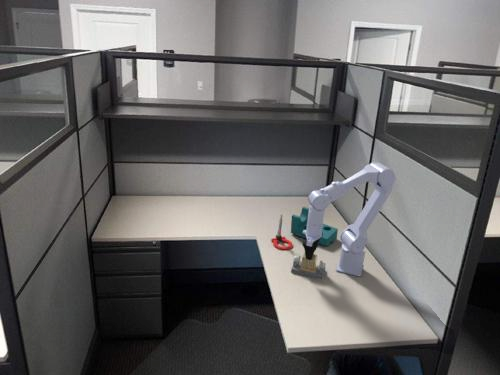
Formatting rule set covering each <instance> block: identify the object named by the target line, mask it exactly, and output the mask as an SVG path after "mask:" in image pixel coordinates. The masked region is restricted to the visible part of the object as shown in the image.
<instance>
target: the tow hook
mask: <svg viewBox="0 0 500 375" xmlns="http://www.w3.org/2000/svg"><path fill="white" fill-rule="evenodd" d="M278 221H279V223H278V230H277V234H275V237H273V238H270V241H271V242H272V246H273V247H275V248H276V249H278V250H281V251H288V250H291V249H292V248H293V246H294V244H293V242H292V241H291V240H289V239H287V238H286V236H282V226H283V214H280V218H279V220H278ZM279 242H283V243H286V244H288V245H287V246H280V245H278V243H279Z"/></svg>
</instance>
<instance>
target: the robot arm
mask: <svg viewBox="0 0 500 375" xmlns="http://www.w3.org/2000/svg"><path fill="white" fill-rule="evenodd" d="M396 180H397V178H396V174H395V172H394V170H393V169H391V168H389V167H387V166H385V165H384V164H382V163H381V162H380V161H377V160H376V161H372V162H370V163H369V164H366V165H365V166H364V168H363V169H361V170H360V171H358V172H357V173H355V174H352V175H351V176H350V177H348V178H346V179H345V180H343V181H338V180H337V181H332V182H331V184H329V185H327V186H325V187H323V188H322V187H321V188H320V189H319V190H313V191H312V192H310V194H309V195H308V196H307V201H308V203H309V207H308V208H309V213H308V221H307V229H306V230H303V234H305V235H306V238H307V239H306V238H305V239H306V240H303V241H302V247H303V249H304V253H305V257H306V259H308V260H312V257H313V254H315V252H316V250H317V248H319V243H318V242H319V240H320V238H321V237H322V235H323V233H322V226H323V224H324V218H325V211H326V209H327V208H328V206H329V205H330V204H331V203H332V202H335V200H338V199H339V198H342V197H344V196H345V195H346V193H347V191H349V190H351V189H353V188H356V187H358V186H360V185H362V184H365V183H371V184H373V185H374V191H373V192H372V194H371V196H370V197H369V198H368V200H367V202H366V203H365V206H364V207H363V208H362V210H361V212H360V214H359V215H358V216H357V218H356V219H355V222H354V223H351V224H348V225H347V227H346V228H345V229H344V230H343V231H342V232H341V233H340V235H339V236H340V237H339V238H340V241H341V249H340V254H339V256H340V257H339V260H338V263H337V266H336V269H335V271H336V272H340V273H344V274H347V275H352V276H355V277H356V276H357V277H361V276H362V272H363V269H364V261H365V257H366V251H364V250H365V248H366V244H367V241H368V238H369V237H368V230H369V229H370V227H371V225H372V224H373V222H374V220H375V219H376V218H377V215H378V214H379V212H380V211H381V210H382V207H383V206H384V205H385V203H386V201H387V200H388V198H389V197H390V195H391V194H392V190H393V185H394V184H395V182H396Z"/></svg>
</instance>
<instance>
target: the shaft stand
mask: <svg viewBox="0 0 500 375" xmlns="http://www.w3.org/2000/svg"><path fill="white" fill-rule="evenodd" d="M301 259H302V256H301V255H300V254H299V255H294V257H293V263H292V267H291V270H290V272H291V273H293V274H297V275H301V276H305V277H309V278H314V279H317V280H321V281H323V278H324V275H325V272H326V266H327V264H326V262H323V260H320V261H319V264H316V267H315V269H314V271H310V270H306V269H302V268H301V264H302V260H301Z"/></svg>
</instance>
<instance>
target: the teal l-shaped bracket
mask: <svg viewBox="0 0 500 375" xmlns="http://www.w3.org/2000/svg"><path fill="white" fill-rule="evenodd" d="M308 213H309V207H306V206H302V208H301V212H300V215H296V214H294V213H293V214H292V215H291V226H290V233H291V234H294V235H296V236H298V237H301V238H304V239H306V240H307V238H306V235H305V234H303V230H306V229H307V221H308ZM338 231H339V228H337V227H334V226H332V225H328V224H325V223H323V226H322V233H323V235H322V237H321V238H320V240H319V242H318V245H319V244H320V245H322V246H325V247H327V246H328V245H329V244H332V243H334V242H335V241H336V240H337V238H338Z"/></svg>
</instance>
